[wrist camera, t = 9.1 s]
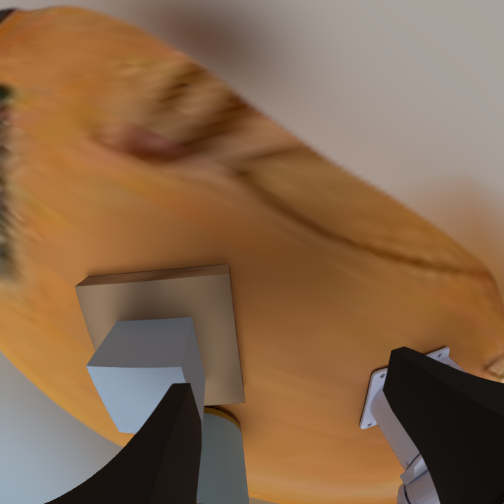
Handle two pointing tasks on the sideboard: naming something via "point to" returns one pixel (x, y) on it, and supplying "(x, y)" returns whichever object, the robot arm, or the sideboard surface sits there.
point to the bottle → (221, 461)
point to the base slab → (174, 316)
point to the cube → (145, 368)
